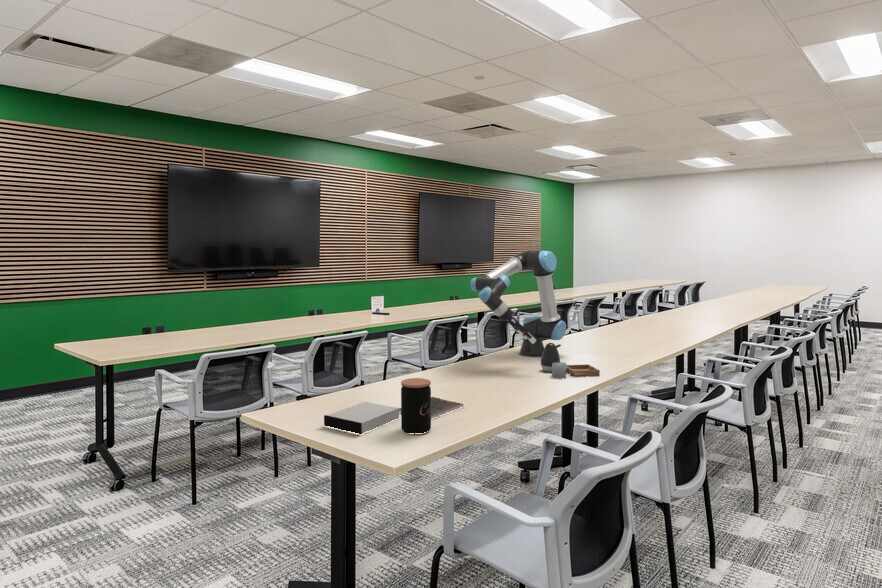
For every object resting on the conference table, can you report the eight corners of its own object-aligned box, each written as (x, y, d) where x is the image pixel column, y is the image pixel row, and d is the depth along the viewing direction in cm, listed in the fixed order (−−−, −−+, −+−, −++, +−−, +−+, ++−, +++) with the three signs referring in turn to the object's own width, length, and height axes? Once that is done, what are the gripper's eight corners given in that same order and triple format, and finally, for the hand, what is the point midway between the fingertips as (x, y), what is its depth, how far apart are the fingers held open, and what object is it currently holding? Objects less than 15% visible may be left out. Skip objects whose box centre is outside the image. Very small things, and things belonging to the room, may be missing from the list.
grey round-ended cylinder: (549, 375, 283) (550, 362, 282) (563, 375, 284) (563, 361, 283) (554, 379, 276) (554, 365, 275) (568, 378, 277) (568, 364, 276)
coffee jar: (423, 437, 193) (423, 386, 191) (396, 433, 197) (395, 383, 195) (435, 427, 203) (435, 379, 201) (408, 424, 207) (408, 376, 205)
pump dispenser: (562, 373, 288) (562, 344, 286) (542, 373, 288) (542, 344, 287) (558, 369, 298) (559, 341, 296) (539, 369, 298) (539, 341, 297)
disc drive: (323, 428, 204) (323, 415, 203) (364, 413, 223) (364, 400, 222) (360, 437, 194) (360, 423, 194) (399, 420, 213) (399, 407, 213)
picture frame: (432, 402, 238) (398, 414, 221) (432, 396, 238) (398, 408, 221) (463, 409, 228) (429, 422, 211) (463, 403, 228) (429, 416, 211)
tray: (563, 370, 294) (563, 365, 293) (588, 370, 295) (588, 364, 295) (572, 377, 280) (573, 371, 280) (599, 376, 282) (599, 370, 281)
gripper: (492, 314, 299) (519, 341, 302) (503, 320, 274) (532, 349, 278) (502, 304, 299) (529, 331, 302) (514, 309, 275) (543, 338, 278)
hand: (530, 340), depth 290 cm, fingers open, 13 cm apart
